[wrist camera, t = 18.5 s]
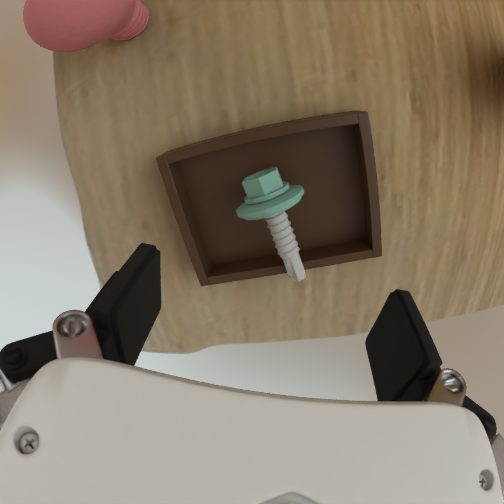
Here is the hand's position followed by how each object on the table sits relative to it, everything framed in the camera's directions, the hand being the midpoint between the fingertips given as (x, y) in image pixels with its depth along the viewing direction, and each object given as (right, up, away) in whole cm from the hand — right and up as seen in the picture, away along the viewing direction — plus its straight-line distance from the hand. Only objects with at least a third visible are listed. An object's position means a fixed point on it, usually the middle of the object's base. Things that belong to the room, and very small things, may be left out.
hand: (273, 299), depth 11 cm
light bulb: (-10, +21, +6) cm, 24 cm away
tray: (+1, +6, +13) cm, 14 cm away
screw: (+2, +4, +13) cm, 14 cm away
